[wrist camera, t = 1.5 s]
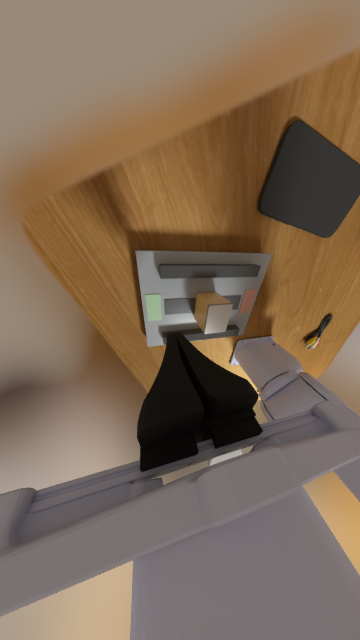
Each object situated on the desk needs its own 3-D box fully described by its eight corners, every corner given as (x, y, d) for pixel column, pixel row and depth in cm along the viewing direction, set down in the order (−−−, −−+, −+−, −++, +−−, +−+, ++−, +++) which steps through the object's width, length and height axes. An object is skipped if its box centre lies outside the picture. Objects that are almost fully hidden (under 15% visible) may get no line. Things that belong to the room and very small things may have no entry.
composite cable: (325, 313, 31) (338, 318, 29) (336, 316, 32) (348, 321, 30) (297, 344, 35) (306, 350, 33) (307, 345, 37) (317, 351, 35)
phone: (330, 239, 20) (257, 210, 16) (324, 239, 21) (252, 212, 17) (373, 174, 17) (294, 113, 12) (364, 176, 17) (286, 120, 13)
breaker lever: (216, 291, 18) (232, 304, 15) (211, 316, 21) (225, 331, 17) (196, 292, 18) (209, 305, 14) (194, 317, 20) (204, 334, 16)
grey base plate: (261, 252, 19) (272, 254, 17) (236, 329, 26) (243, 335, 25) (136, 249, 16) (135, 250, 14) (147, 339, 23) (147, 347, 21)
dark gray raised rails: (253, 264, 18) (261, 265, 17) (233, 330, 24) (237, 335, 22) (159, 263, 15) (160, 265, 14) (162, 338, 21) (163, 344, 20)
